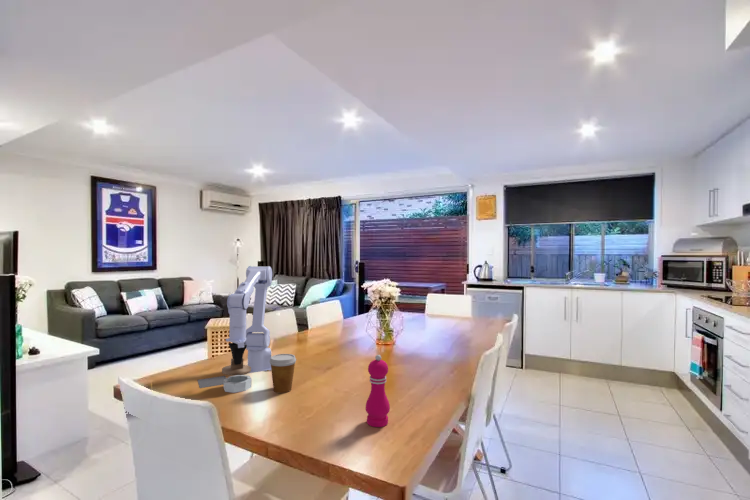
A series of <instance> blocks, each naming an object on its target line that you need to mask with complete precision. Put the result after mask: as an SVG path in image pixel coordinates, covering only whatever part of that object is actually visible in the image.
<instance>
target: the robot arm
mask: <svg viewBox="0 0 750 500" xmlns="http://www.w3.org/2000/svg"><path fill="white" fill-rule="evenodd" d="M245 277H246V279H245V280H244V281H242V282H241V283H240V284H239V285H238V286H237V288H236V290H235V291H234V293H233V292H232V293H231V294H229V295H228V296H227V301H226V305H227V311H228V312H227V313H228V314H229V335H228V336H229V337H228V338H225V341H226V342H227V343H228V342H229V343H228V347H229V348H230V351H231V359H233V358H234V363H235V365H237V364H241V362H242V358H243V357H244V354H245V351H247V366H250V367H251V372H249V373H248V374H252V373H259V372H268V371H267V370H269V371H271V364H270V362H269V361H270V359H271V357H272V350H271V348H270V347H269V346H270V343H271V335H270V334H271V331H270V329H269V328H268V327H266V326H265V324H264V323H265V312H266V303H267V293H268V288H269V287H271V286H272V282H273V269H272V267H271V266H270V265H268V266H262V265H261V266H258V265H257V266H254V265H253V266H251V265H248V266H247V268H246V271H245ZM254 289H255V290H254ZM253 293H254V301H253V310H252V311H253V312H252V321H251V322H252V323H251V325H250V326H249V327H248V328H247V309H248V308H249V306H250V305H249V304H250V301H251V296H252V295H253ZM243 359H244V358H243Z"/></svg>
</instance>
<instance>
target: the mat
mask: <svg viewBox="0 0 750 500" xmlns="http://www.w3.org/2000/svg"><path fill="white" fill-rule="evenodd" d="M226 378H227V377H226V375H220V376H213V377H207V378H201V379H197V383H198V387H199V389H203V388H211V387H215V386H222V385H223V386H224V379H226Z"/></svg>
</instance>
